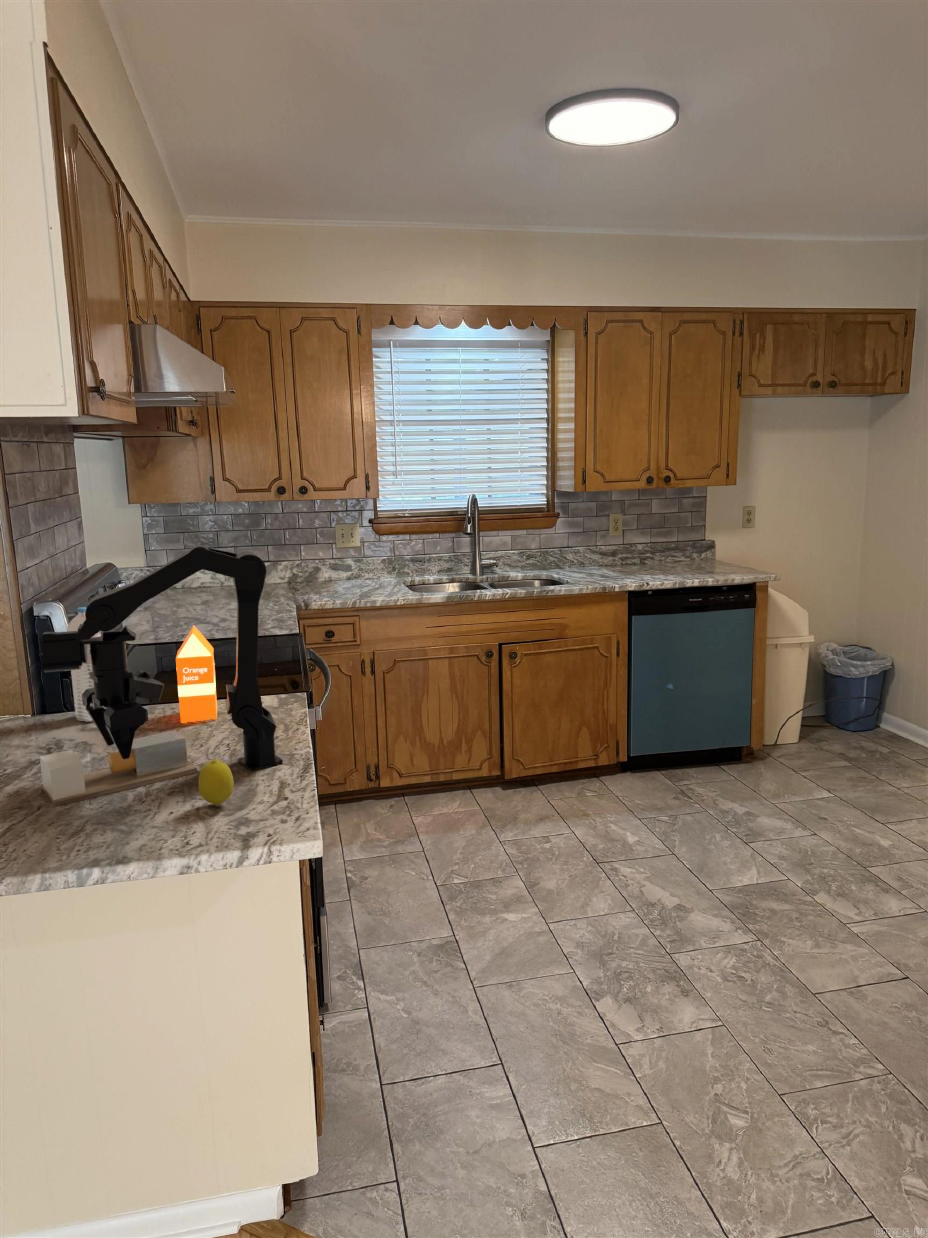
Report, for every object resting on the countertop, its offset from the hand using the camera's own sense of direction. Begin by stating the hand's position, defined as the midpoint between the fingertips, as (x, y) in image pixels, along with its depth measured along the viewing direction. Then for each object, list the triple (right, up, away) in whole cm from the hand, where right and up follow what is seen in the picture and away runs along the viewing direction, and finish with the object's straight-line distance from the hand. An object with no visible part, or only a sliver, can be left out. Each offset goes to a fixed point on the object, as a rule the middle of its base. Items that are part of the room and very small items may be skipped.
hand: (118, 751), depth 148 cm
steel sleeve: (+5, -4, +5) cm, 9 cm away
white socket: (-7, -6, -5) cm, 11 cm away
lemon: (+21, -8, -10) cm, 24 cm away
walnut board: (0, -5, +1) cm, 5 cm away
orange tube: (+4, -3, +4) cm, 6 cm away
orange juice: (+2, +2, +38) cm, 38 cm away
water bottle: (-21, +1, +37) cm, 43 cm away
